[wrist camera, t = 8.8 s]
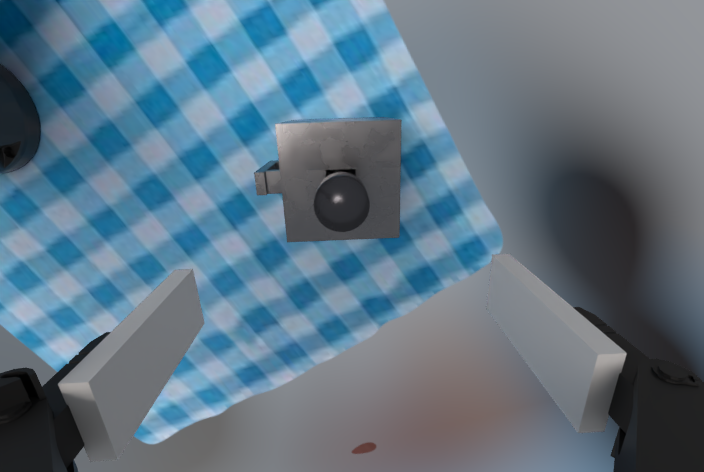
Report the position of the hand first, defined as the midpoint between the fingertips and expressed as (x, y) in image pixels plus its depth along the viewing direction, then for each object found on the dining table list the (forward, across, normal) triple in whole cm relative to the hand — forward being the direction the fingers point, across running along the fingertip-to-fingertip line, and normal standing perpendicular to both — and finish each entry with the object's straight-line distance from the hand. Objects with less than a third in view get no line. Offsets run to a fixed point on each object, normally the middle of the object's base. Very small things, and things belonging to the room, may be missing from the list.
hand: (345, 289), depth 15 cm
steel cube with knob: (+35, -2, 0) cm, 35 cm away
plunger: (+32, 0, 0) cm, 32 cm away
